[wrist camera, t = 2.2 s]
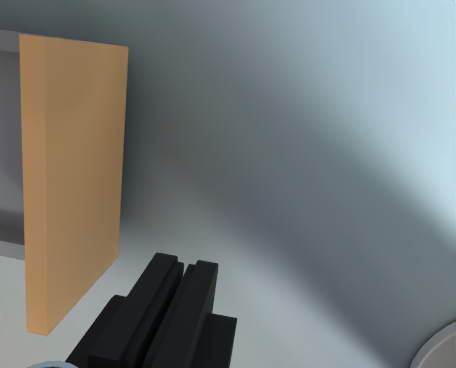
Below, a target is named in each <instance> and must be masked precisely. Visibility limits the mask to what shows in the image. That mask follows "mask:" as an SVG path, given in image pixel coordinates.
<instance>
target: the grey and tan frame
mask: <svg viewBox="0 0 456 368" xmlns="http://www.w3.org/2000/svg"><path fill="white" fill-rule="evenodd" d="M128 52H129V47H127V46H119V45H112V44H105V43H97V42H90V41H83V40H75V39H68V38H61V37H53V36H46V35H39V34H31V33H24V32H17V31H9V30H2V29H0V256H5V257H10V258H15V259H20V260H25V277H26V315H27V332H30V333H35V334H39V335H44V336H48V335H49V334H50V333H51V331H52V330H53V329H54V328H55V327H56V326H57V325H58V324H59V322H60V321H61V320H62V319H63V318H64V317H65V316H66V315H67V314H68V312H69V311H70V310H71V309H72V308H73V307H74V306H75V305H76V304H77V302H78V301H79V300H80V299H81V298H82V297H83V296H84V295H85V293H86V292H87V291H88V290H89V289H90V288H91V287H92V286H93V285H94V283H95V282H96V281H97V280H98V279H99V278H100V277H101V276H102V274H103V273H104V272H105V271H106V270H107V269H108V268H109V267H110V266H111V264H112V263H113V262H114V261H115V260H116V259H117V258H118V246H119V227H120V208H121V188H122V169H123V149H124V130H125V110H126V91H127V72H128Z"/></svg>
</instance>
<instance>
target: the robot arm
mask: <svg viewBox="0 0 456 368" xmlns="http://www.w3.org/2000/svg"><path fill="white" fill-rule="evenodd" d="M183 271H184V263H182V262H178V257H177V256H174V255H168V254H163V253H156V254H155V255H154V257H153V258H152V260H151V261H150V263H149V264H148V266H147V267H146V269H145V270H144V272H143V273H142V275H141V276H140V278H139V279H138V281H137V282H136V284H135V285H134V287H133V288H132V290H131V291H130V293H129V294H128V296H127V297H125V296H119V295H114V296H113V297H112V298H111V299H110V301H109V302H108V303H107V305H106V306H105V307H104V309H103V310H102V312H101V313H100V314H99V316H98V317H97V318H96V320H95V321H94V322H93V324H92V325H91V327H90V328H89V329H88V331H87V332H86V333H85V335H84V336H83V338H82V339H81V340H80V342H79V343H78V344H77V346H76V347H75V349H74V350H73V351H72V353H71V354H70V355H69V357H68V358H67V359H66V361H65V362H62V361H47V362H42V363H38V364H34V365H32V366H30V367H28V368H229V367H230V361H231V355H232V349H233V343H234V336H235V330H236V324H237V318H233V317H228V316H223V315H217V314H212V310H213V302H214V295H215V288H216V280H217V273H218V263H212V262H207V261H201V260H198V261H197V263H196V265H193V264H189V265H188V267H187V269H186V272H185V274H184V276H183ZM410 368H456V322H454V323H452V324H449V325H448V326H446V327H445V328H443V329H442V330H440V331H439V332H438V333H436V334H435V335H433V336H432V337H431V338H430V339H429V340H428V341H427V342H426V343H425V344H424V345H423V346H422V347H421V349H420V350H419V352H418V353H417V355H416V356H415V358H414V359H413V361H412V363H411V366H410Z"/></svg>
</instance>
